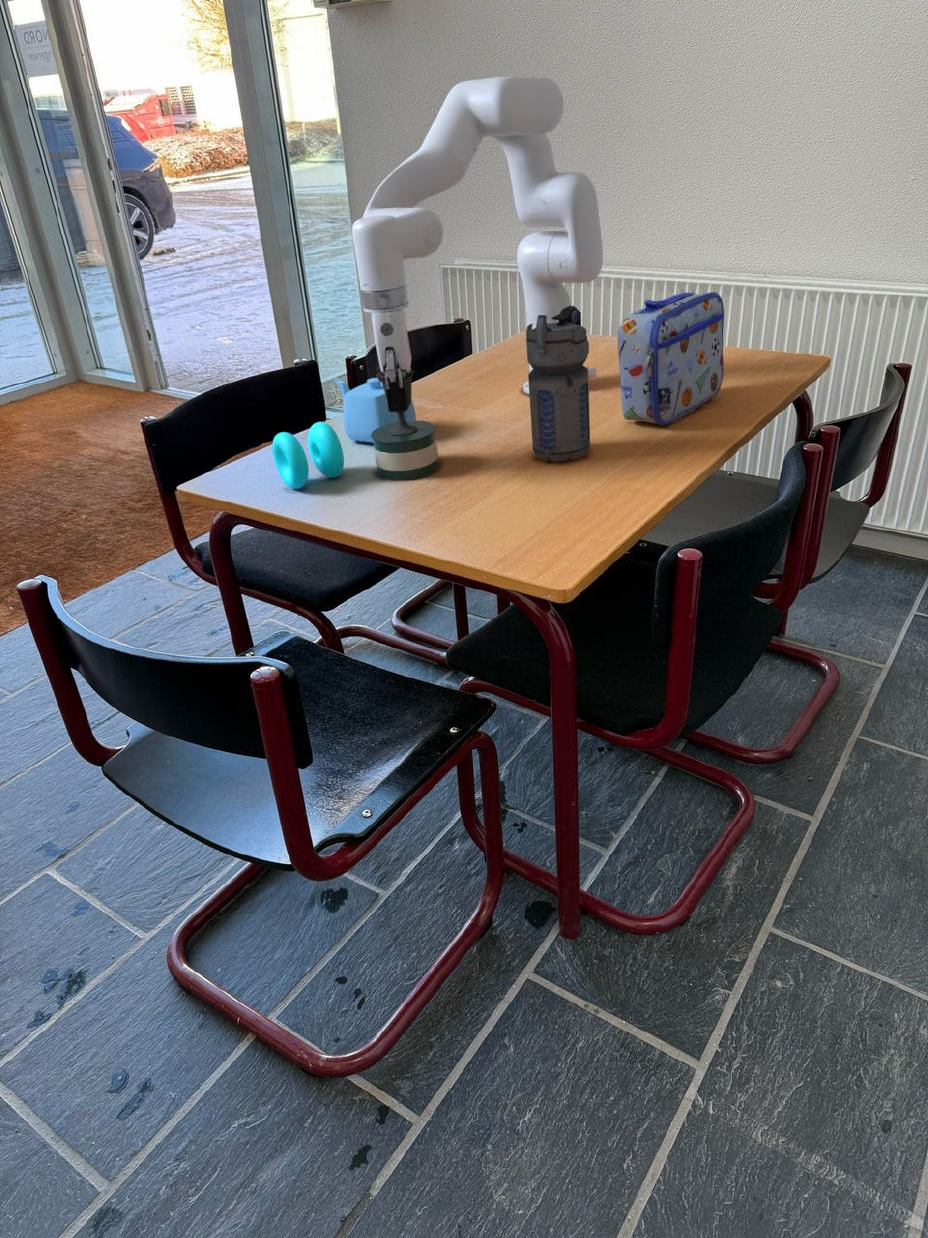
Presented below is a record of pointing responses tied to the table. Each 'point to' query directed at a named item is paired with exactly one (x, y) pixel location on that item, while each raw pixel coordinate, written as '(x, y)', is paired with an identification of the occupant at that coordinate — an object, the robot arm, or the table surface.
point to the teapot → (368, 409)
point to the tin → (406, 451)
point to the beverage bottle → (559, 387)
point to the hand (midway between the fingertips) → (399, 402)
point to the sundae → (407, 379)
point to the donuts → (321, 449)
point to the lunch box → (671, 357)
